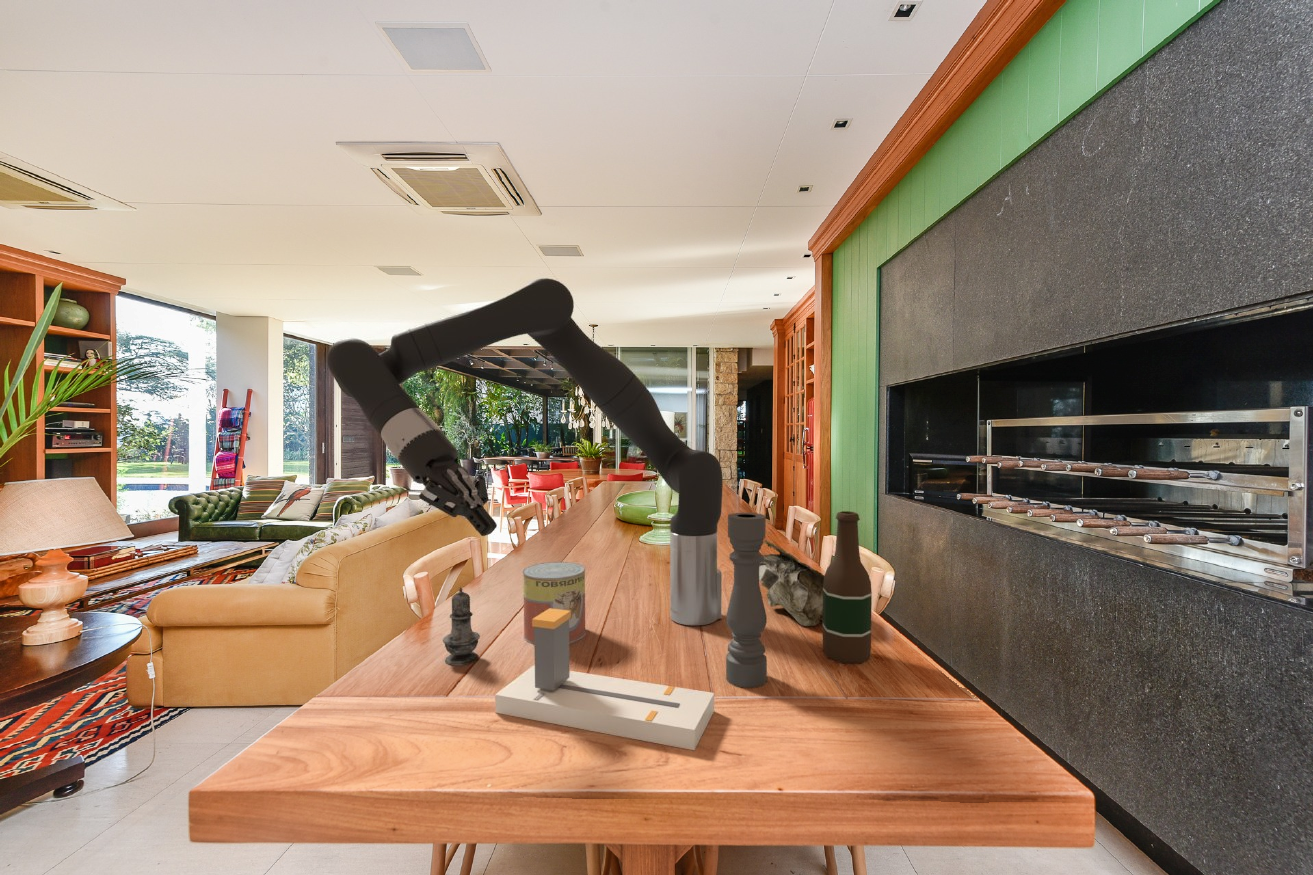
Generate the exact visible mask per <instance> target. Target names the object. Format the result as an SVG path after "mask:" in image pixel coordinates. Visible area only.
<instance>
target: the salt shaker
mask: <svg viewBox="0 0 1313 875" xmlns="http://www.w3.org/2000/svg"><path fill="white" fill-rule="evenodd" d="M463 590H464V589H463V588H462V587H461V586H460V587H459V589H458V592H456V593H455V594H454V595H452V597H451V614H450V615H449V618H450V620H451V630H450V634H447V635H445V636H444V637H443V639H442V642H443V643H444V648H445V650H446V651H447V652H448V653H449V655H448V656H446V658H445V659H444V661H445V664H446V665H449V666H452V667H453V666H454V667H455V666H465V665H470V664H472V663H475V662H476V661H477V660H478V659H479V654H478V653H476V652H474V651H475V649H476V648H477V647H478V643H479V639H480V638H481V634H480V633H478V632H476V631H473V630H472V620H471V619H472V616H473V613H472V612H471V597H470V595H469V594H468V593H467V592H464V591H463Z"/></svg>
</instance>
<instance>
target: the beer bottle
mask: <svg viewBox="0 0 1313 875" xmlns="http://www.w3.org/2000/svg"><path fill="white" fill-rule="evenodd" d="M859 515H860V514H859V513H858V512H855V511H849V510H845V511H844V510H843V511H839V512H836V516H835V519H836V520H837V526H836V540H835V551H834V557H833V560H832V561H831V563H830V564H829V565H828V567H827V568H826V571H825V573H824V574H823V575H824V581H823V620H822V650H823V653H824V654H825V655H826V656H827V659H829V660H832V661H834V662H838V663H841V664H852V665H853V664H863V663H864V662H867V661H868V660H869V659H870V658H871V651H872V650H871V649H872V594H873V592H872V581H871V578H870V575H869V573H868V571H867V569H866V568H865V566H864V565H863V563H862V561H861V555H860V543H859V542H860V539H859V525H858V524H859V521H860V516H859Z"/></svg>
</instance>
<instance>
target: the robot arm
mask: <svg viewBox="0 0 1313 875" xmlns="http://www.w3.org/2000/svg"><path fill="white" fill-rule="evenodd" d="M574 305H575V304H574V297H573V295H572V293H571V291H570V290H569V288H568V287H567V286H566V285H565V284H564V283H562V282H560V281H558V280H556V279H553V278H549V277H548V278H547V277H546V278H543V277H542V278H538V279H535V280H533V281H530V282H529V283H528V284H526V285H525V286H524V287H522V288H520V289H518V290H515V291H514V292H512V293H510V294H508V295H506V296H505V297H502V298H499V299H497V300H495V301H492V302H489V303H488V304H485V305H482V306H480V307H479V306H478V307H476V308H474V309H473V308H472V309H470V310H467V311H464V312H460V313H457V314H453V315H450V316H446V317H443V318H439V319H435V320H433V321H429V322H426V323H423V324H419V325H416V326H413V327H409V328H408V329H407V328H406V329H404V330H401V331H399V332H397V333H395V334H393V336H392V337H391V340H390V346H389V348H387V349H385V350H384V351H383V352H381V353H378V351H377V350H376V349H375V348H374V347H373V346H372V345H371V344H369V343H368V342H366V341H365V340H362V339H358V338H354V337H351V338H349V337H348V338H347V337H346V338H343V339H339V340H338V341H336V342H335V343H333V344H332V346H331V347H330V348H329V350H328V352H327V356H326V362H327V368H328V369H329V372H330V373H331V375H332V377H333V378H334V380H335V382H336V384H337V385H338V387H339V389H340V391H341V392H342V393H344V395H346V396H348V397H349V398H351V399H354V401H356V403H357V404H358V405H359V407H360V408H361V411H362V412H363V414H364V415H365V417H366V419H367V421H368V422H369V423H370V425H371V426H372V427H373V429H374V430H375V431H376V432H377V434H378V435H379V436H380V437H381V439H382V440H383V442H384V444H385V445H386V447H387V449H388V450H389V451H390V452H391V455H393V456H394V458H395V459H396V460H397V462H399V464H400V465H401V466H402V468H404V470H405V471H406V472H407V474H408V475H409V476H410V477H411V478H412V480H413V481H414V482H415V483H416V484H421V485H423V486H424V488H423V490H422V491H421V492H420V494H419V495H418V497H419V499H421V500H422V501H423V502H425V503H427V504H429V505H431V506H433V507H434V508H436V509H438V510H440V511H442V512H444V513H445V514H447V515H448V516H450V517H453V518H457V516H460V517H461V518H462V519H467V521H468V522H469V523H470V524H471V526H472V527H473V528H474V529H475V531H476V532H478V533H479V535H480V536H482V537H486V536H488V535H490V534H492V533H493V532H494V531H495V530H496V529H497V526H498V524H497V522H496V521H495V520H494V519H493V518H492V516H491V515H490V513H489V512H488V511H487V510H486V509H485V507H484V506H485V504H486V503H488V502H489V500H490V499H489V494H488V489H487V484H486V478H485V476H484V475H482V474H479V475H477V477H475V476H473V475H471V474H469V472H468V469H466V468H465V467H463V466H462V465H461V464H460V463H459V455H460V454H459V451H458V449H457V448H456V447H455V445H454V443H452V441H450V439H449V438H448V437H447V435H446V434H445V433H444V432H443V431H442V430H441V429H440V427H439V426H438V424H436V423H435V422H434V420H433V419H432V418H431V417H430V416H429V415H428V414H427V413H425V412H424V411H423V410H422V409H421V407H420V406H419V405H418V404H417V402H416V401H415V400H414V399H413V398H412V396H411V395H409V394H408V393H407V391H405V389H404V388H403V386H401V384H403V383H404V382H406V381H407V380H409V379H410V378H412V377H413V376H415V375H417V374H418V373H423V372H425V371H428V370H431V369H434V368H437V367H439V366H442V365H446V364H448V363H451V362H453V361H454V362H455V361H456V360H458V359H461V358H464V357H465V356H468V355H470V354H473V353H475V352H477V351H479V350H481V349H483V348H486V347H488V346H490V345H493V344H495V343H499V342H501V341H505V340H507V339H511V338H514V337H517V336H522V335H528V337H530V338H531V339H533V340H534V341H535V342H536V343H537V344H539V346H541V347H542V348H543V349H544V350H545V351H546V352H547V353H548V354H550V355H551V356H552V357H553V358H554V359H555V360H556V361H557V362H558V363H559V364H560V365H561V366H562V367H563V368H564V370H565V371H566V372H567V373H568V374H569V375H570V377H571V378H572V380H573V381H574V382H575V383H576V384H577V385H578V386H579V387H580V389H581V390H582V391H583V392H584V393H585V395H587V397H588V398H589V399H590V400H591V402H592V403H593V404H594V405H595V406H596V407H597V408H598V409H599V410H600V411H601V412H602V413H603V415H604V416H606V418H607V419H608V420H609V421H610V422H611V423H612V424H614V426H615V427H616V428H617V429H618V430H619V431H620V432H621V433H622V434H623V435H624V436H625V437H626V438H627V439H628V440H630V442H632V443H633V445H635V446H636V447H637V448H638V449H639V450H640V451H641V452H642V453H643V454H644V455H645V457H646V458H647V459H648V461H649V462H650V463H651V464H652V466H653V467H654V469H655V470H656V471H657V472H658V474H659V476H660V477H661V478H662V479H663V481H664V482H665V483H666V485H667V486H668V487H669V488H670V489H671V490H672V491H674V492H675V493H677V494H678V503H677V504H678V505H677V511H676V512H675V514H674V515H672V516H671V518H670V520H669V521H670V524H669V527H670V528H669V529H670V530H669V533H670V534H669V535H670V536H669V539H670V542H669V545H670V546H669V547H670V552H669V553H670V555H669V556H670V558H669V559H670V567H669V568H670V578H669V579H670V580H669V581H670V607H669V608H670V619H671V620H672V621H673V622H675V623H677V624H681V625H685V626H705V625H709V624H713V623H715V622H716V621H718V620H722V604H723V603H722V599H723V598H722V594H723V593H722V584H723V583H722V580H723V579H722V570H721V569H719V568H718V524H719V521H720V520H721V516H722V510H723V509H722V505H723V484H724V483H723V480H724V478H723V470H722V467H721V464H720V460H718V458H717V457H716V456H715V455H714V454H712V453H711V452H708V451H705V450H697V449H693V448H691V447H689V446H688V445H687V444H686V443H685V442H683V440H682V439H681V438H680V437H678V436H677V434H676V433H674V432H673V431H672V429H671V428H670V427H669V426H668V425H667V423H666V421H665V419H664V417H663V415H662V412H661V411H660V408H659V406H658V403H656V402H657V401H656V399H655V398H654V396H653V394H652V393H651V392H650V390H649V389H648V388H647V387H646V385H644V383H643V382H642V381H641V379H639V378H638V376H637V375H636V374H635V372H633V371H632V369H630V368H629V367H628V366H627V365H626V364H625V363H624V362H623V361H621V360H620V359H619V358H618V357H616V356H614V355H613V354H612V353H610V352H609V351H607V350H606V349H604V348H603V347H601V345H599V344H598V343H596V342H595V341H593V340H592V339H591V338H590V337H589V336H588V335H586V333H585V332H584V331H583V330H582V329H581V328H580V326H579V325H578V323H577V322H576V321H575V319H573V318H572V316H573V312H574V307H575V306H574Z"/></svg>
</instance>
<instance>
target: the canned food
mask: <svg viewBox="0 0 1313 875" xmlns="http://www.w3.org/2000/svg"><path fill="white" fill-rule="evenodd" d="M585 573H586V567H585V566H584V565H582V564H580V563H576V562H566V561H553V562H552V561H551V562H543V563H536V564H533V565H530V566H527V567H525V568H524V569H523V570H522V576H523V577H522V578H523V579H522V580H523V581H522V582H523V584H522V585H523V639H524V640H525V641H526V642H527V643H529V644H532V645H534V627H533V626H532V619H533V618H535V617H536V616H538V615H540V614H541V613H543V612H544V611H546V610H548V609H549V608H552V609H560V610H569V611H571V618H570V619H569V645H570V644H572V643H573V644H574V643H575V642H578V641H580V640H582V639H583V638H584V637H585V636H586V633H587V630H586V574H585Z"/></svg>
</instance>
